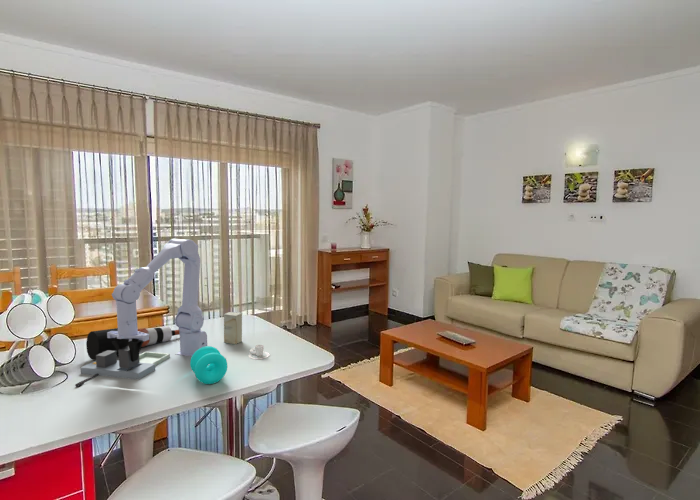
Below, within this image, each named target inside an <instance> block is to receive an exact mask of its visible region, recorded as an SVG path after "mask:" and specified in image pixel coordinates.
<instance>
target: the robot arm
mask: <svg viewBox="0 0 700 500" xmlns="http://www.w3.org/2000/svg"><path fill="white" fill-rule="evenodd" d="M172 259H179V260H180V261H181V263H183V264H184V270H183V283H182V285H183V286H182V298H181V299H182V301H181V305H180V306H179V307H178V309H177V314H176V315H175V318H174V324H175V326H176V327H178V330H179V333H180V335H179V351H178V352H175V354H174V355H176V356H187V357H192V355H193V354H194V353H195V352H196V351H197V350H198V349H200V348H202V347H205V346H208V335H207V332H206V331H204V330H201V329H202V327H203V326H204V317H203V310H202V309H201V308H200V306H199V304H198V302H199V290H200V273H201V272H200V271H201V257H200V254H199V245H198V244H197V243H196V242H195V241H194V240H193V239H182V238H181V239H180V238H171V239H170V240H168V241H167V242H166V243H165V244H164V245H163V247H162V249H161V250H160V251H159V252H158V253H157V254H156V255H155V257H154V258H153V259H152V260H151V261H150V262H149V263H148V264H147V265H146V266H144V267H143V266H142V267H141V266H140V267H139V268H136V269H135V270H134V271H133V273H132V275H130V276H129V277H128V278H127V279H124V281H123V283H120V284H118V285H116V286H115V287H114V289H113V292H112V293H111V297H112V298H113V300H115V306H116V318H117V321H116V322H117V328H118V331H110V332H107V338H115V340H114V341H112V344H113V345H114V346H115V348H116V349H117V351H118V350H119V349H121V348H124V347H126V346H129V349H130V354H131V361H132V362H134V361H136V360H138V355H140V351H141V348H142V347H141V346H142V344H143V342H144V341H147V340H149V334H146V333H142V332H139V331H138V329H139V328H138V315H137V314H138V312H137V310H138V309H137V308H138V307H137V300H138V299H139V298H140V296H141V292H142V291H143V290H144V289H145V288H146V287H147V286H148V285H149V284H150V283H151V282H152V281H153V279H154V278H155V277H154V276H155V273H156V272H158V270H160V269H161V268H162V267H163V266H165V264H167V263H168V262H169V261H171V260H172ZM129 339H132V341H129ZM118 353H119V352H118Z"/></svg>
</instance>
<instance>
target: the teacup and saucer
mask: <svg viewBox="0 0 700 500" xmlns="http://www.w3.org/2000/svg"><path fill="white" fill-rule="evenodd" d="M264 354H265V355H266V356H264V357H263V355H264ZM253 355H256V357H253ZM270 356H271V354H270V353H269V352H268V351H264V344H257V345H255V346H254V348H253V347H252V348H250V349H249V354H248V355H247V357H248V358H249V359H251V360H264V359H267V358H269V357H270ZM257 357H258V358H257ZM260 357H261V358H260Z"/></svg>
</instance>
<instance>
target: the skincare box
mask: <svg viewBox="0 0 700 500" xmlns="http://www.w3.org/2000/svg"><path fill="white" fill-rule="evenodd" d="M242 341H243V313H242V312H235V311H229V312H226V313H223V343H227V344H232V345H237V343H238V344H240V343H241V342H242Z"/></svg>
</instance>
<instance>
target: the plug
mask: <svg viewBox="0 0 700 500" xmlns="http://www.w3.org/2000/svg"><path fill="white" fill-rule="evenodd" d="M118 352H119V355H118V360H119V367H120V368H130V367H132V366H134V365H136V364H138V363H140V362H139V355H140V354H139V355H138V360H136V361H134V362H132V361H131V354H130V349H129V346H126V347H124V348H121V349H119V350H118Z"/></svg>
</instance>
